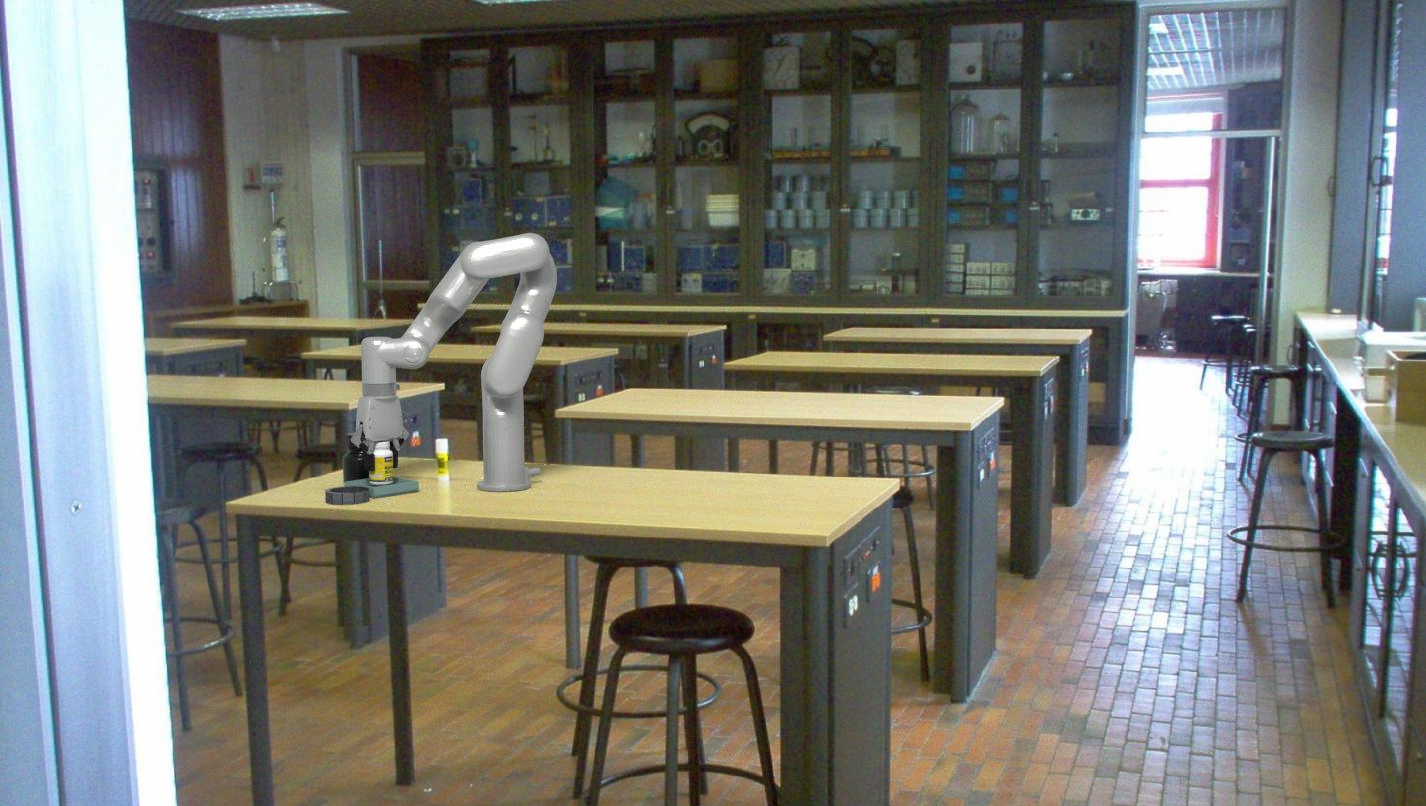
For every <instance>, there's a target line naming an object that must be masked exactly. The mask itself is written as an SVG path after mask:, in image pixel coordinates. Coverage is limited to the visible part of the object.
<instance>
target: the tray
mask: <svg viewBox="0 0 1426 806" xmlns="http://www.w3.org/2000/svg"><path fill="white" fill-rule="evenodd" d="M419 485H420V484H419V481H418V480H415V479H410V478H409V479H408V478H404V477H403V478H402V477H398V476H394V475H393V483H391V484H387V485H373V484H370V482H369V478H367V479H360V480H353V481H346V482H343V487H345V486H362V487H367V488H369V492H370V499H372V500H373V499H381V498H387V497H388V498H389V497H395V496H400V495H407V494H413V493H414V494H415V493H419V491H420V489H419V488H420V486H419Z"/></svg>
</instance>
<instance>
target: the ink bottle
mask: <svg viewBox="0 0 1426 806" xmlns="http://www.w3.org/2000/svg"><path fill="white" fill-rule="evenodd" d="M355 432H356V431H354V432H349V433H346V449H347V450H348V451H347V452H346V453H345V454H344V456H343V457H342V473H343V474H342V478H343V481H342V482H343V483H344V482H346V481H353V480H360V479H367V478H369V471H366V470H365V467H364V453H362V452H361V450H360V449H359V448H358V447H357V446H356V445H355V444H354V443H352V442H351V438H352V436H353V435H354V434H355ZM360 441H362V443H363V441H364V440H360Z"/></svg>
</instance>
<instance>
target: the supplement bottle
mask: <svg viewBox="0 0 1426 806" xmlns="http://www.w3.org/2000/svg"><path fill="white" fill-rule="evenodd" d="M389 446H390V441H387V440H381V441H375V444H374V448H373V451H372V454H374V455H375V471H369V482H370V484H373V485H387V484H391V483H393V476H394V468H393V452H392V451H391V450H390V449H389Z"/></svg>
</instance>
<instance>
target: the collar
mask: <svg viewBox="0 0 1426 806" xmlns="http://www.w3.org/2000/svg"><path fill="white" fill-rule="evenodd" d="M324 491H325V493H324V494H325V495H324V496H325V499H324V501H325V503H326V504H328V505H335V506H336V505H337V506H347V505H348V506H349V505H350V506H351V505H359V504H364V503H367V502H370V501H371V498H370V492H369V488H367V487H362V486H345V487H344V486H336V487H331V488H330V487H329V488H327V489H324Z"/></svg>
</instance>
